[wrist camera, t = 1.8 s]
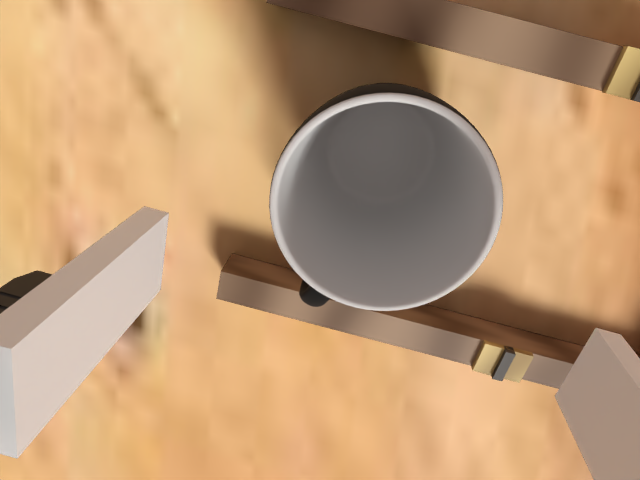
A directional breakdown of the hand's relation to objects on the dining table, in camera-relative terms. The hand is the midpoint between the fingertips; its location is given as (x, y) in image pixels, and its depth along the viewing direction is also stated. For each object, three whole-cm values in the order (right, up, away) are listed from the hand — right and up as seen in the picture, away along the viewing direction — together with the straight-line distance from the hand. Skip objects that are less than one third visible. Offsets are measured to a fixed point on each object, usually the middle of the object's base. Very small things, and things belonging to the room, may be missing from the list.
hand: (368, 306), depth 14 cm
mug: (+1, +6, +14) cm, 15 cm away
